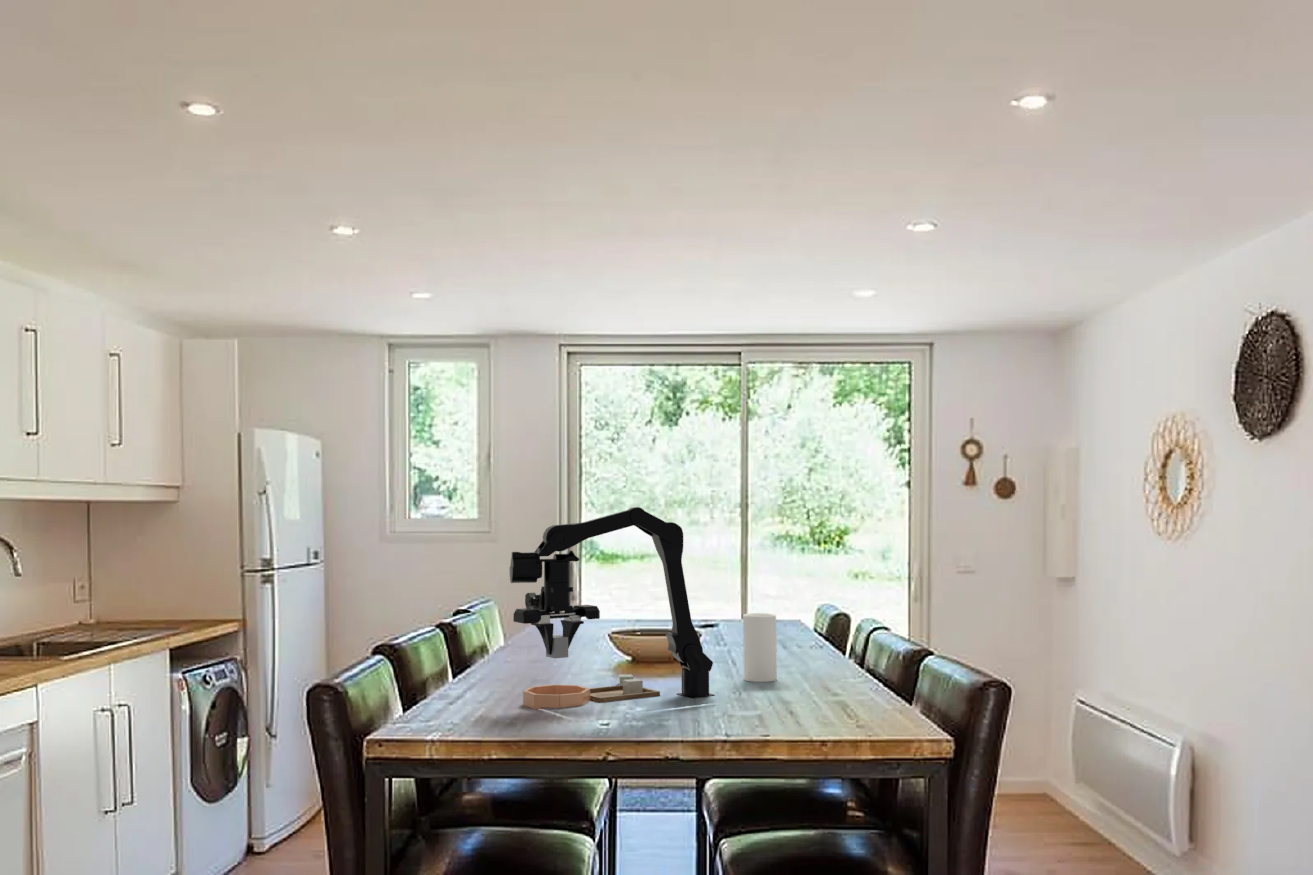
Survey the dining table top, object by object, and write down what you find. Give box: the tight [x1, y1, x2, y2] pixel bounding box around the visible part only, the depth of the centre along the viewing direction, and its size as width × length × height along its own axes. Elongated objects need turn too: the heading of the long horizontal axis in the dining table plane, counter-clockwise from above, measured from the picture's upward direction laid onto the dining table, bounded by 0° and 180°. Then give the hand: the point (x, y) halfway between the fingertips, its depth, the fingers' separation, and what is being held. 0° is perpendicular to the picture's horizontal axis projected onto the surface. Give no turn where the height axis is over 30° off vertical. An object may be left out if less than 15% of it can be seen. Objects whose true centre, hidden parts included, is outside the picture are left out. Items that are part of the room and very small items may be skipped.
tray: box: [589, 684, 661, 703], centre depth 242 cm, size 13×16×1 cm
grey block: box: [545, 634, 569, 659], centre depth 234 cm, size 4×3×4 cm
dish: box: [522, 684, 591, 710], centre depth 234 cm, size 14×14×3 cm
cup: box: [742, 612, 778, 683], centre depth 267 cm, size 8×8×16 cm
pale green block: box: [618, 674, 634, 685], centre depth 256 cm, size 3×4×3 cm
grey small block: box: [623, 678, 644, 694], centre depth 243 cm, size 4×3×3 cm
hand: (557, 653), depth 234 cm, fingers closed on grey block, 3 cm apart
